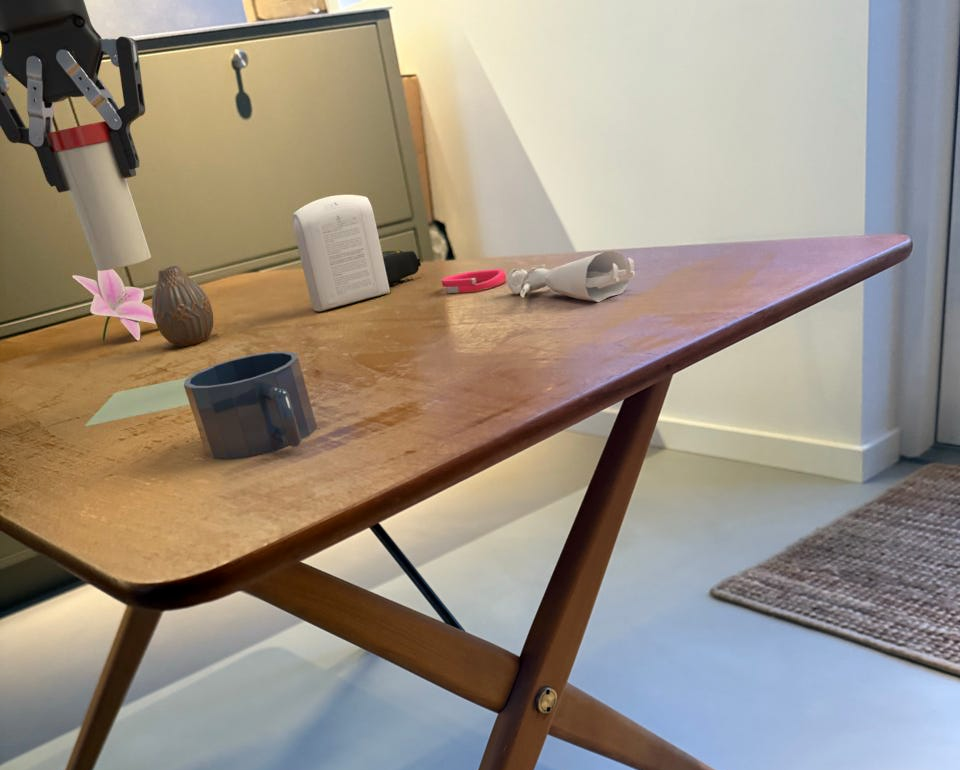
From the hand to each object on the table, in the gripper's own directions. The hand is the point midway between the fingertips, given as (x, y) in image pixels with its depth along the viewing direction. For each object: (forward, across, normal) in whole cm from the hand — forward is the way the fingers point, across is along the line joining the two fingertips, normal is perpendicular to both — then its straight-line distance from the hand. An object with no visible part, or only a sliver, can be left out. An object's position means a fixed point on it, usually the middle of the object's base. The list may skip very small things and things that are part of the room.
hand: (97, 183), depth 91 cm
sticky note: (+20, 0, 0) cm, 20 cm away
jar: (+7, 0, 0) cm, 7 cm away
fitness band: (+20, -32, -26) cm, 46 cm away
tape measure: (+20, -22, -40) cm, 50 cm away
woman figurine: (+20, -41, -10) cm, 47 cm away
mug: (+20, -13, +23) cm, 33 cm away
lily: (+20, +14, -41) cm, 48 cm away
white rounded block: (+20, -17, -33) cm, 42 cm away
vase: (+20, +3, -28) cm, 35 cm away
